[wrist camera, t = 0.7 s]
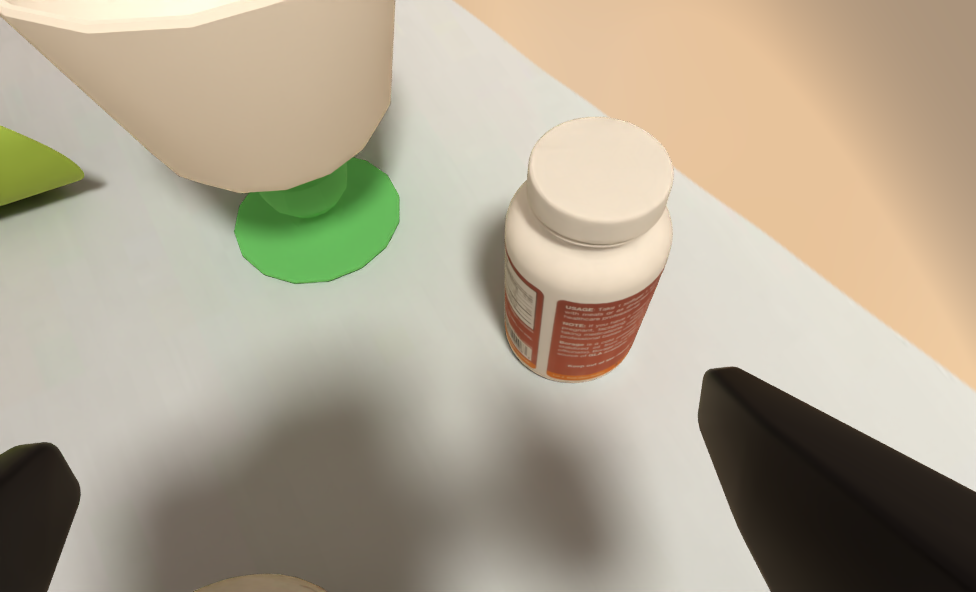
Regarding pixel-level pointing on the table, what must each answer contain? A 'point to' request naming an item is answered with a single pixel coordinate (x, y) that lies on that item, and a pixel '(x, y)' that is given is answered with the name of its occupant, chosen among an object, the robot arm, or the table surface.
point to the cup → (246, 109)
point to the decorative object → (262, 584)
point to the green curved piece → (31, 167)
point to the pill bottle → (585, 247)
